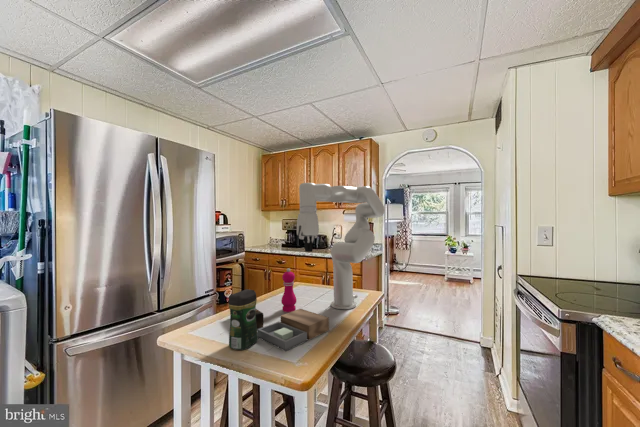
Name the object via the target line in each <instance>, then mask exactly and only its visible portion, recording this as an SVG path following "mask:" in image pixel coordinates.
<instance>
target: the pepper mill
mask: <svg viewBox="0 0 640 427" xmlns="http://www.w3.org/2000/svg"><path fill="white" fill-rule="evenodd" d="M281 277H282V278H281V279H282V280H283V283H282V284H283V286H284V292H283V294H282V297H281V301H280V302H281V305H283V306H282V311H283V312H284V313H290V312H293V311H295V310H297V309H296V304H297V296H296V294H295V292H294V284H295V283H294V282H295V279H296V276H295V273H294V272H293V271H291V268H290V267H289V268H286V271H285V272H284V273H283V274H282V276H281Z"/></svg>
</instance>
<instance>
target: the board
mask: <svg viewBox="0 0 640 427" xmlns="http://www.w3.org/2000/svg"><path fill="white" fill-rule="evenodd" d="M280 322H281V323H284V324H287V325H289V326H292V327H294V328H297V329H300V330H302V331H305V332H307V341H310V340H312V339H314V338H316V337H318V336H320V335H322V334H324V333H326V332H328V331H330V317H328V316H326V315H322V314H319V313H316V312H312V311H309V310H306V309H303V308H299V309H296V310H295V311H293V312H286V313H285V314H282V315H280Z"/></svg>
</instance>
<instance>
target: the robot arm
mask: <svg viewBox="0 0 640 427" xmlns="http://www.w3.org/2000/svg"><path fill="white" fill-rule="evenodd" d="M298 190H299V191H298V192H299V213H298V214H297V221H296V235H297V236H298V239H299V240H302V241H303V243H304V251H305V252H308V253H311V252H313V251H314V250H313V243H314V240H315V239H317V238H318V237H319V230H320V228H319V226H320V225H319V218H318V213H317V211H318V208H317V202H320V203H321V202H322V203H323V202H324V203H344V204H345V203H348V204H357V205H356V207H355V209H354V210H355V222H354V223H353V225H352V227H351V228H350V229H349V230H348V232H347V233H346V234H345V235H344V242H340V241H337V242H336V243H334V244H333V245H332V247H331V249H330V257H331V260H332V266H333V267H332V268H333V274H332V275H333V276H332V277H333V301H331V302H330V306H331V307H332V308H333V309H337V310H351V309H355V307H357V303H356V301H355V299H357V298H358V295H357V294H354V293H353V292H354V290H353V288H354V287H353V286H354V284H353V280H354V279H353V267H352V265H351V263H352V264H358V263H361V262H362V261H363V260H364V259H365V258H366V256H368V253H369V252H370V250H372V248H373V246H374V244H375V234H374V232H373V231H372V230H370V229H371V226H370V223H369V219H370V218H371V219H372V218H376V219H377V218H382V216H383V215H384V213H385V205H384V203H383V202H382V200H381V198H380V196H378V194H377V192H376V191H375V190H374V189H373V187H371V186H369V185H364V186H357V187H356V186H349V185H348V186H347V185H346V186H345V185H333V186H331V185H330V184H328V183H314V182H302V183H300V184H299V188H298Z"/></svg>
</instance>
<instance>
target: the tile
mask: <svg viewBox="0 0 640 427" xmlns="http://www.w3.org/2000/svg"><path fill="white" fill-rule="evenodd" d="M274 336H277V337H279V338H281V339H283V340H287V339H289V338H291V337H293V331H292V330H289V329H287V328H282V329H279V330H277V331H274Z"/></svg>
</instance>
